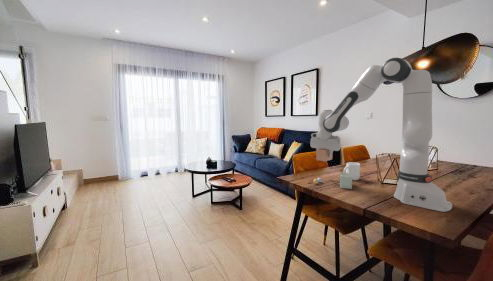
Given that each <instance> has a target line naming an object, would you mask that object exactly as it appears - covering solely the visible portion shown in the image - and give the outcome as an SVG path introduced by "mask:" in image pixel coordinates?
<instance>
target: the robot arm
mask: <svg viewBox="0 0 493 281" xmlns="http://www.w3.org/2000/svg"><path fill="white" fill-rule="evenodd" d="M384 82H389V83H390V82H391V83H394V84H395V83H396V84H401V85H402V89H403V91H402V131H401V145H400V146H401V147H400V158H399V169H398V173H397V185H396V190H395V192H394V194H393V197H394V198H395V199H397V200H398V201H400V203H402V204H405V205H409V206H414V207H418V208H423V209H428V210H433V211H437V212H441V213H442V212H443V213H445V212H449V211H451V210H452V209H453V203H451V202H450V201H447V196H446V192H445V191H444V190H443V189H442V188H440V187H438V186H437V185H436V184H435V183H433V175H430V174H429V173H428V167H429V158H430V156H429V151H430V150H429V149H430V141H431V140H432V138H433V108H432V106H433V81H432V76H431V73H430V72H429V71H428V70H426V69H414V68H413V65H412V64H411V63H410V62H409V61H408V60H406V59H403V58H400V57H392V58H389V59H387V60H386V61H385V62H384V63H383V64H382V66H381V65H379V64H371V65H370V66H369V67H367V68H366V69H365V71H363V73H362V74H361V75H360V77H358V79H357V80H356V82H355V84H353V86H352V88H351V89H350V91H349V92H347V94H346V96H344V98H343V99H341V101H340V102H339V103H338V105H337V106H336V108H335V109H334V110H331V109H325V110H321V111H320V112H319V113H318V129H317V132H314V133H311V134H310V136H311V138H310V141H309V142H310V143H309V144H310V147H311V148H312V149H315V150H316V149H326V150H330V154H328V157H331V156H332V153H334V151H335V152H339V151H340V150H341V138H340V136H338V135H333V133H336V132H340V131H341V132H342V131H344V130H346V129H347V128H348V127H349V125H350V121H349V118H348V117H347V116H346V115H347V114H348V112H349V111H350V110H351V109H352V108H353V107H354V106H356V105H358V104H360V103H363V102H365V101H368V100H369V99H370V98H371V97H372V96H373V95H374V94H375V92H376V91H377V89H378V88H379V87H380V86H381V84H383V83H384Z"/></svg>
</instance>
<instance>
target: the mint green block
mask: <svg viewBox="0 0 493 281" xmlns="http://www.w3.org/2000/svg"><path fill="white" fill-rule="evenodd" d="M339 188H340V189H348V190H349V189H350V190H352V188H353V180H352V175H351V173H343V172H339Z"/></svg>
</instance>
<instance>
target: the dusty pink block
mask: <svg viewBox="0 0 493 281" xmlns="http://www.w3.org/2000/svg"><path fill="white" fill-rule="evenodd" d="M315 151H316V155H315V157H316V158H315V160H316V161H320V162H328V161H331V160H333V156H334V155H333V153H334V152H333V153H332V156H331V157H328V154H330V150H326V149H316V148H315Z"/></svg>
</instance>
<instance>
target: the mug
mask: <svg viewBox="0 0 493 281" xmlns="http://www.w3.org/2000/svg"><path fill="white" fill-rule="evenodd" d="M360 172H361V163H359V162H355V161H354V162H353V161H352V162H351V161H349V162H346V165H345V167H344V168H343V173H351V175H352V181H358V180H359V179H360V174H361V173H360Z"/></svg>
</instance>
